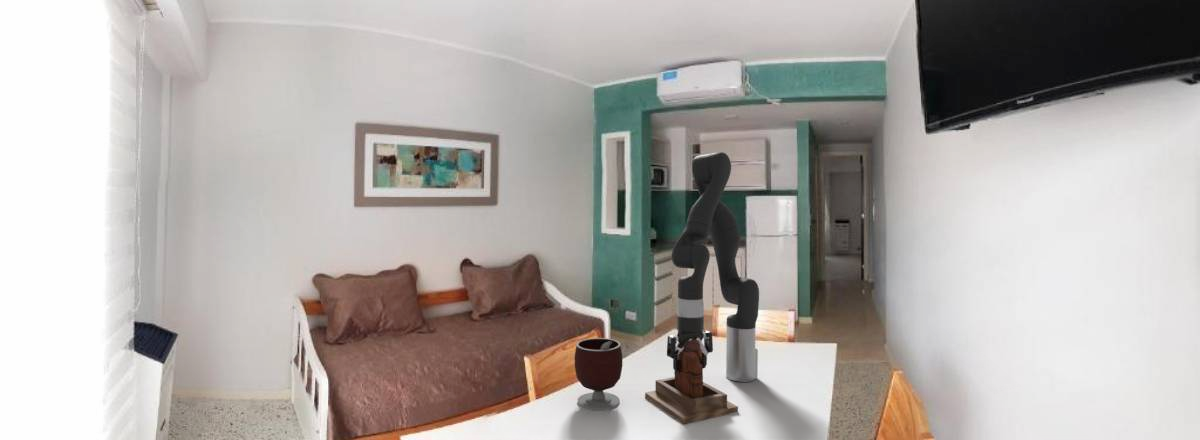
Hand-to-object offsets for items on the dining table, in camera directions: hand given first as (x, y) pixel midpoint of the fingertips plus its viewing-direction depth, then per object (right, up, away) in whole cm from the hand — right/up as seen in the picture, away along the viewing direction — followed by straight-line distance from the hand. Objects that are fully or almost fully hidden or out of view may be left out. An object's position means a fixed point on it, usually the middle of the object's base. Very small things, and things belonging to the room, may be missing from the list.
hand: (690, 369), depth 144 cm
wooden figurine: (0, -9, 0) cm, 9 cm away
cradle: (0, -10, 0) cm, 10 cm away
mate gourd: (-26, -10, +1) cm, 28 cm away
